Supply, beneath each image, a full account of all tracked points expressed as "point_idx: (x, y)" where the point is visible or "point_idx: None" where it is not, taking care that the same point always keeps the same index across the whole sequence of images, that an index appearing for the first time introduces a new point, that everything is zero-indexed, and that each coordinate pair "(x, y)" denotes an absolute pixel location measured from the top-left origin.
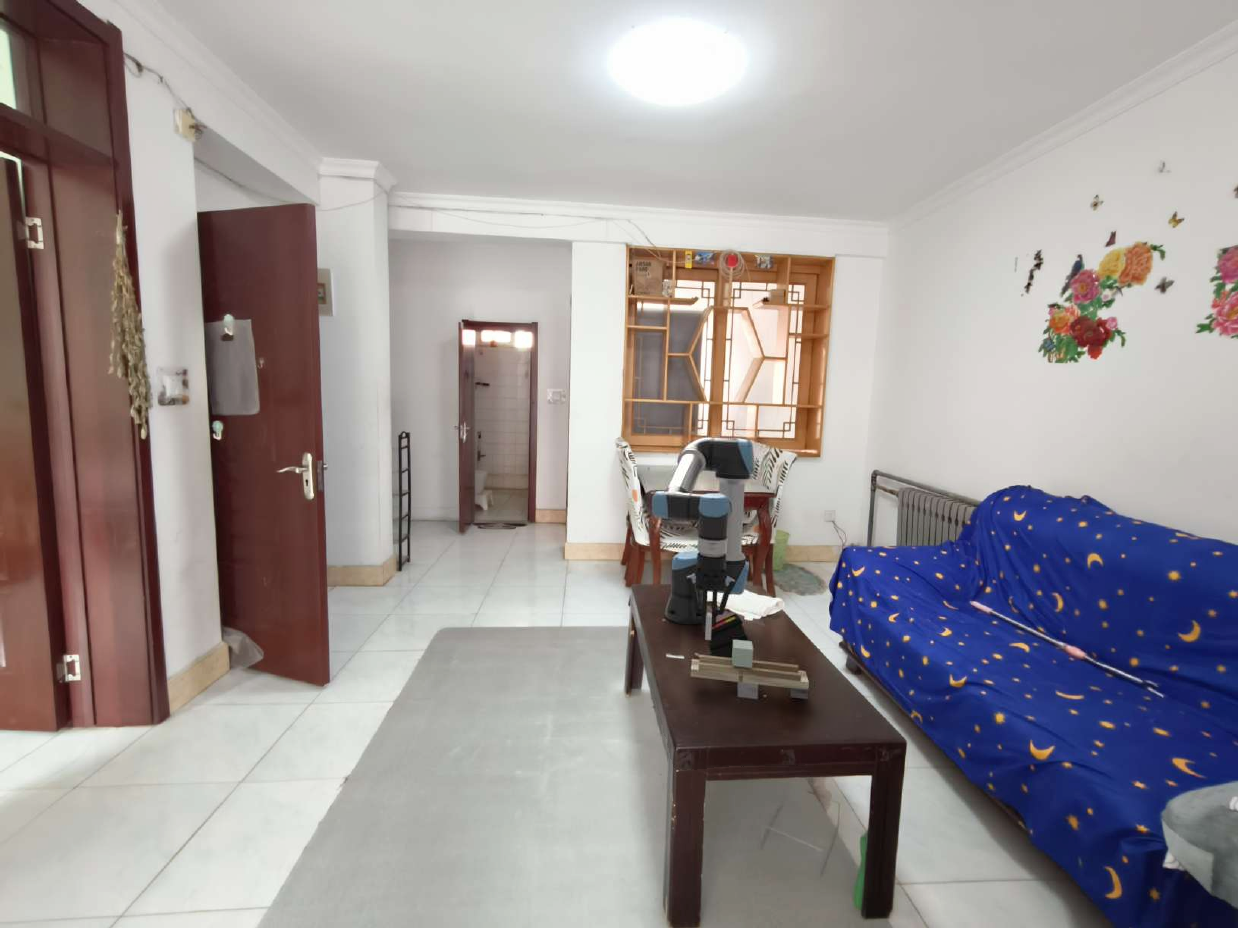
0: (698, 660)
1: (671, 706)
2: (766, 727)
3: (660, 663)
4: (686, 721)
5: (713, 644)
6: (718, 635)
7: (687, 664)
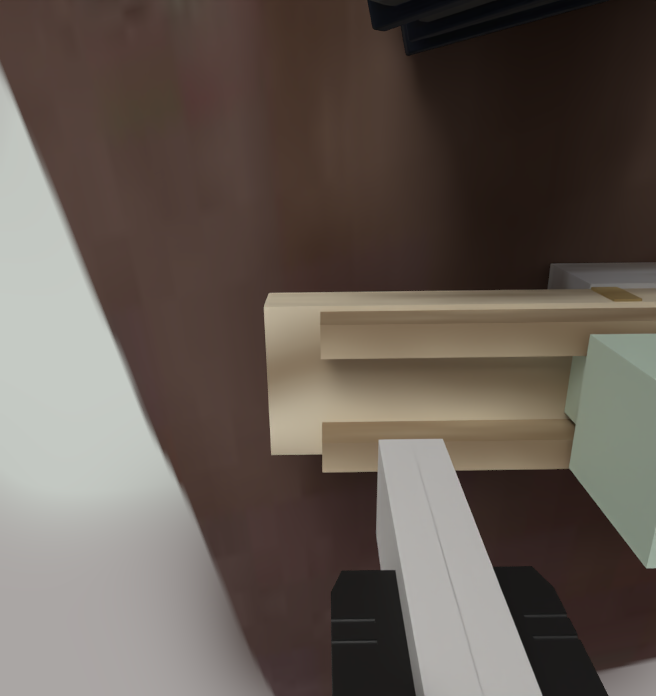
0: (314, 320)
1: (211, 537)
2: (617, 587)
3: (42, 96)
4: (289, 616)
5: (445, 13)
6: None
7: (230, 61)
